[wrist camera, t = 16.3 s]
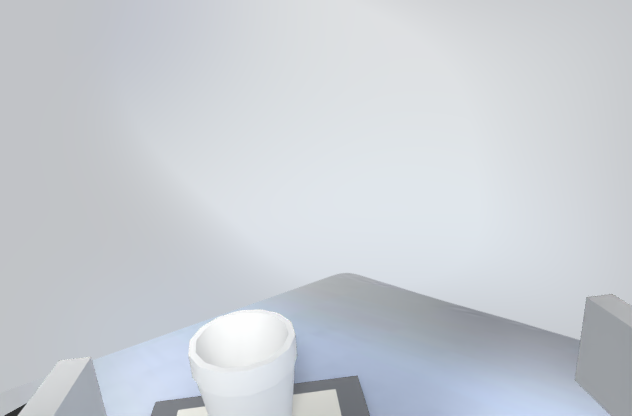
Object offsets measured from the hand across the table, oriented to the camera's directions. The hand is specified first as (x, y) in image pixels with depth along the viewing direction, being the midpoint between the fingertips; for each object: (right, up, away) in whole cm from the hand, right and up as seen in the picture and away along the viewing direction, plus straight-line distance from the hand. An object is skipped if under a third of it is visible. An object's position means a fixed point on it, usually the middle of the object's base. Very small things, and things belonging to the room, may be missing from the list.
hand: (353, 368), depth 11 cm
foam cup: (-7, -20, +30) cm, 37 cm away
